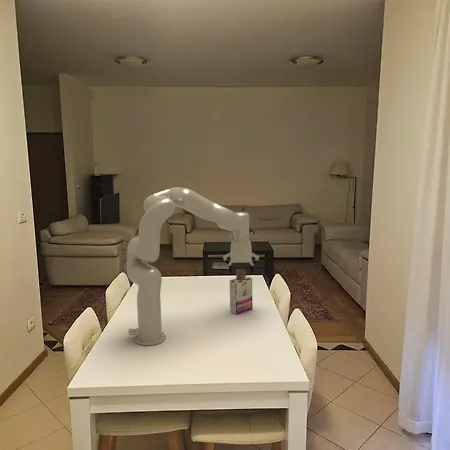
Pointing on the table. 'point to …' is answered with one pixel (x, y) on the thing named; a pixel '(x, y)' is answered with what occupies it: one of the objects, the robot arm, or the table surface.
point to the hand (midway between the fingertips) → (240, 273)
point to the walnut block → (240, 274)
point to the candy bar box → (240, 295)
